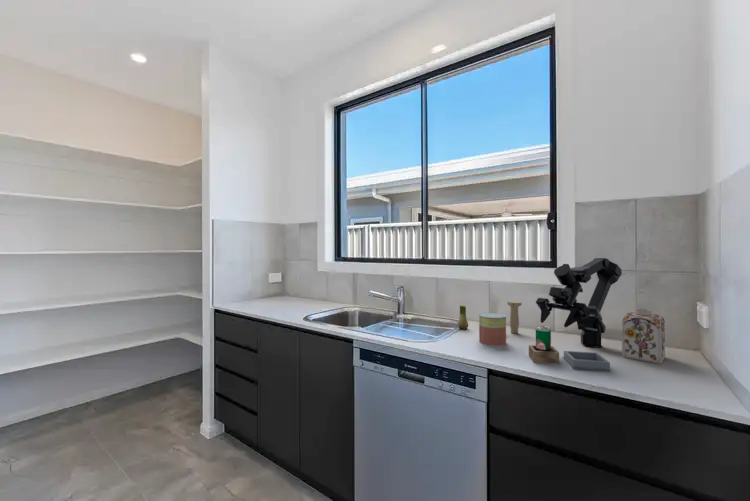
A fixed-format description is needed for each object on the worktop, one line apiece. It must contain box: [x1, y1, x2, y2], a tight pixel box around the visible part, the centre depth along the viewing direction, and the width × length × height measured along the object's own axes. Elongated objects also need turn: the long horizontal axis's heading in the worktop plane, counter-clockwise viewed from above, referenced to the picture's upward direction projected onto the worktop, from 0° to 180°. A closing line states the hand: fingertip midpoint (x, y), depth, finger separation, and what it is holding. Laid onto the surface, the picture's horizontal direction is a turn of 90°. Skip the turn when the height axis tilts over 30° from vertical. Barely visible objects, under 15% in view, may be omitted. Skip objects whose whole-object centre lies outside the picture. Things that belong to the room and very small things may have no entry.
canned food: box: [478, 312, 507, 347], centre depth 149 cm, size 11×11×12 cm
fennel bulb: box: [457, 304, 469, 330], centre depth 176 cm, size 6×5×12 cm
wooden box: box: [528, 344, 560, 365], centre depth 126 cm, size 8×8×4 cm
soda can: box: [535, 325, 552, 352], centre depth 126 cm, size 5×5×12 cm
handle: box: [506, 300, 522, 334], centre depth 166 cm, size 5×6×15 cm
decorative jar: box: [621, 308, 666, 365], centre depth 128 cm, size 12×12×18 cm
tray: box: [563, 350, 611, 372], centre depth 120 cm, size 11×11×3 cm
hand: (552, 324), depth 129 cm, fingers open, 9 cm apart
